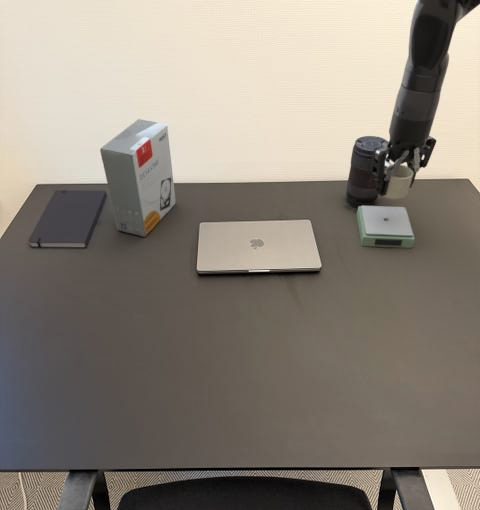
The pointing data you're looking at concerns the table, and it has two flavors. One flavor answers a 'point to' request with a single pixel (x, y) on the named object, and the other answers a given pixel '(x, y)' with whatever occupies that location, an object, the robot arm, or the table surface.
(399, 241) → the scale
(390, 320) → the table surface
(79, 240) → the notebook
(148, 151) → the hard drive box
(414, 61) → the robot arm
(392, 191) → the beige cup
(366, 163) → the camera lens
